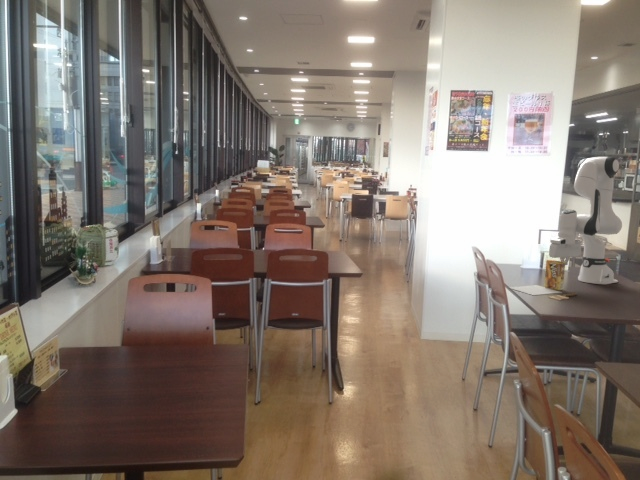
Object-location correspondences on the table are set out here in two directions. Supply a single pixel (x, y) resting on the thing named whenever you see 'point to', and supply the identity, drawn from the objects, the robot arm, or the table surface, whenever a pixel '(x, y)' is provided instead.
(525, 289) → the mat
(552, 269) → the candy box
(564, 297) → the turner
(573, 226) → the robot arm
